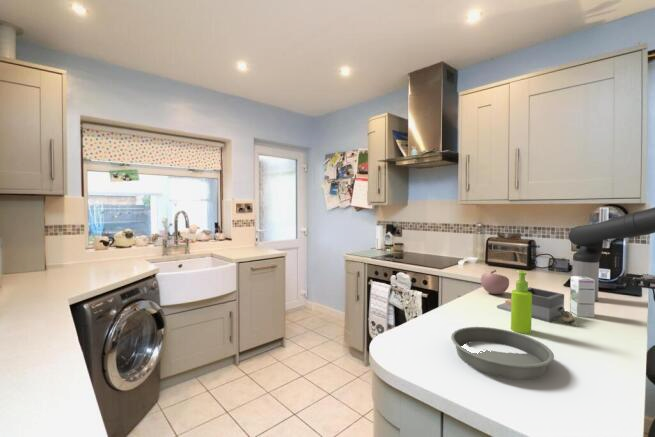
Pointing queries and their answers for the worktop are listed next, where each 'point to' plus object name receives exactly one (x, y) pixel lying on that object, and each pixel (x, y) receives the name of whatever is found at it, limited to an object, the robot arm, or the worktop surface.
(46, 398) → the worktop surface
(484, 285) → the pink apple
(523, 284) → the soap dispenser
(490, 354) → the cake pan
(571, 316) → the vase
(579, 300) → the syrup box
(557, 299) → the socket
